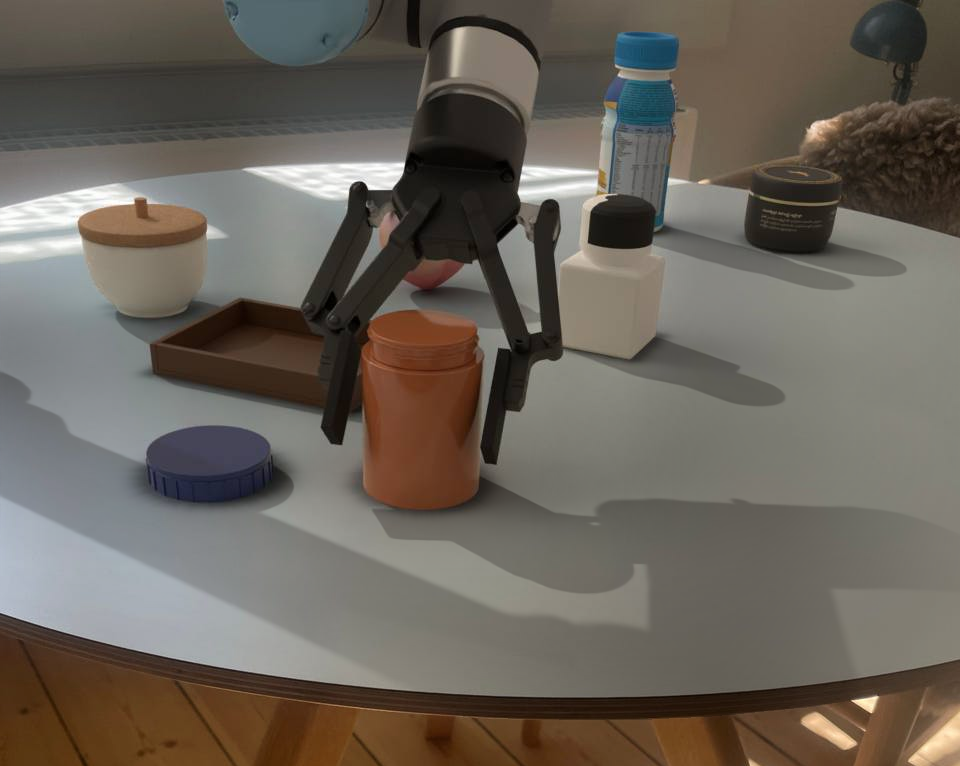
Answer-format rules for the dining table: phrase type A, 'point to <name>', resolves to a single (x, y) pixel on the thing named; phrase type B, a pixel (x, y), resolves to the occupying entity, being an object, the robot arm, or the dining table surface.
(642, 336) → the medicine bottle
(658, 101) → the beverage bottle
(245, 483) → the lid
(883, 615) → the dining table surface
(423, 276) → the decorative fruit
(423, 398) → the honey jar
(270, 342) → the tray
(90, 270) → the trinket box
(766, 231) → the jar
